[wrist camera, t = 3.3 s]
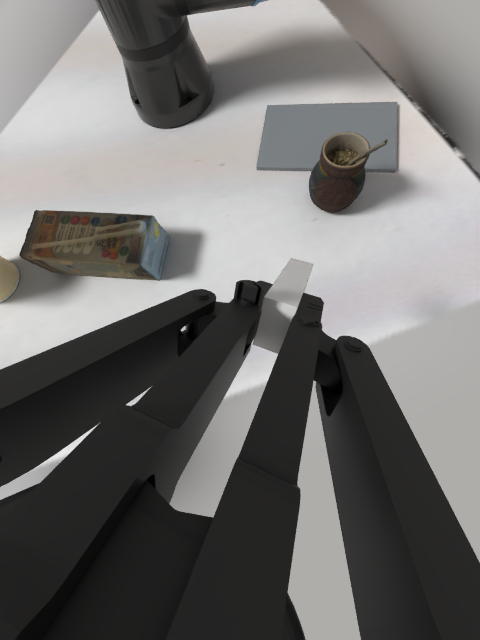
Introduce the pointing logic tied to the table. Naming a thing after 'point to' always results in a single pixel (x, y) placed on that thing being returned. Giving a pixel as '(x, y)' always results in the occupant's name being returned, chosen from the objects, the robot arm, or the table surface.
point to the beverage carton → (96, 244)
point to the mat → (326, 133)
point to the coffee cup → (8, 278)
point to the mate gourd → (340, 171)
